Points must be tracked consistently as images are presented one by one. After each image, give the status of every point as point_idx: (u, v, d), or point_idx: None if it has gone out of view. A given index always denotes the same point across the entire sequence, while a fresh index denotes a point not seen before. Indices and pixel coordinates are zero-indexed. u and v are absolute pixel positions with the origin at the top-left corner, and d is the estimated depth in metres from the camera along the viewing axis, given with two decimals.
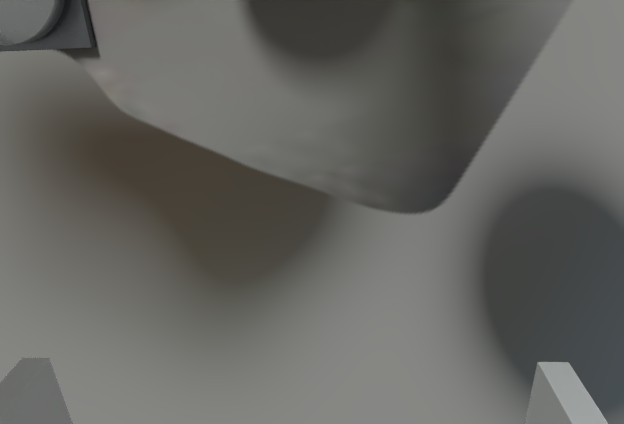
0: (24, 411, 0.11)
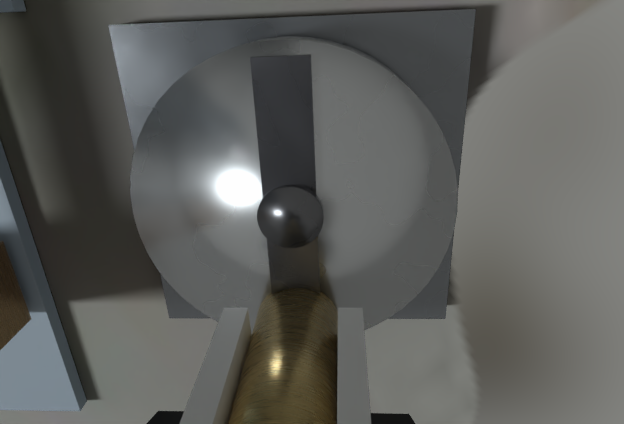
0: (241, 349, 0.13)
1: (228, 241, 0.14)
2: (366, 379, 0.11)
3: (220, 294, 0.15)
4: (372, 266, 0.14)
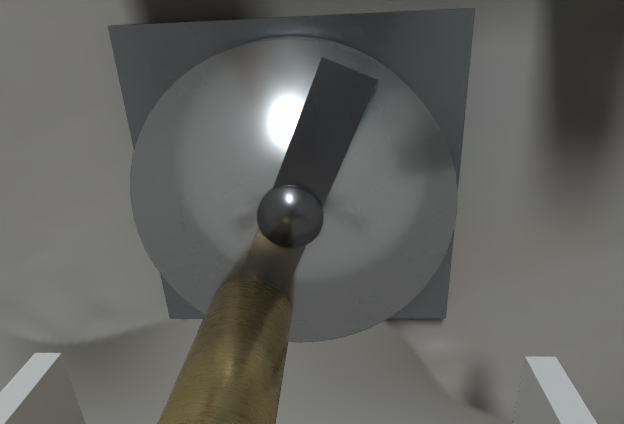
0: (37, 405, 0.11)
1: (219, 215, 0.14)
2: None
3: (186, 262, 0.15)
4: (342, 288, 0.15)
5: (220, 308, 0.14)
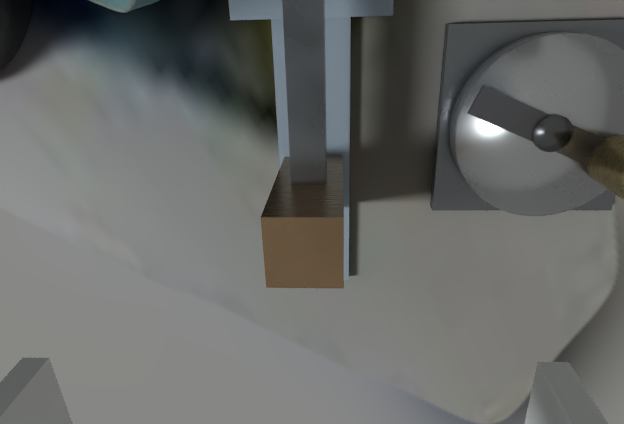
0: (24, 411, 0.11)
1: (543, 171, 0.25)
2: None
3: (569, 193, 0.26)
4: (610, 103, 0.24)
5: (602, 178, 0.24)
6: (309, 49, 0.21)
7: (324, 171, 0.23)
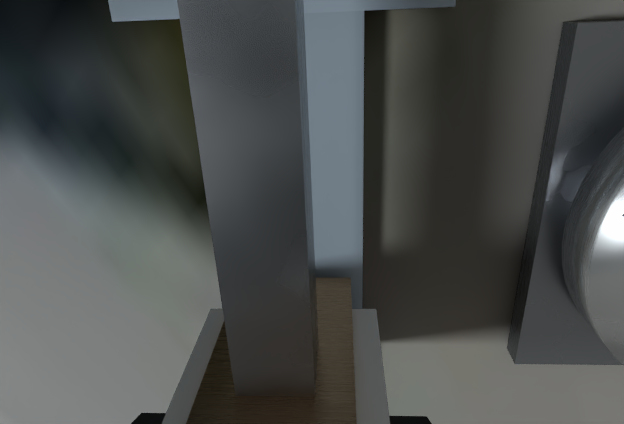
0: None
1: None
2: (383, 381, 0.11)
3: None
4: None
5: None
6: (259, 99, 0.07)
7: (310, 373, 0.10)
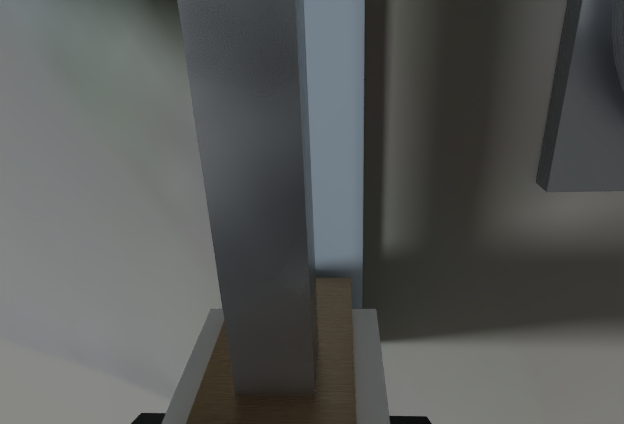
0: None
1: None
2: (383, 381, 0.11)
3: None
4: None
5: None
6: (259, 99, 0.07)
7: (310, 373, 0.10)
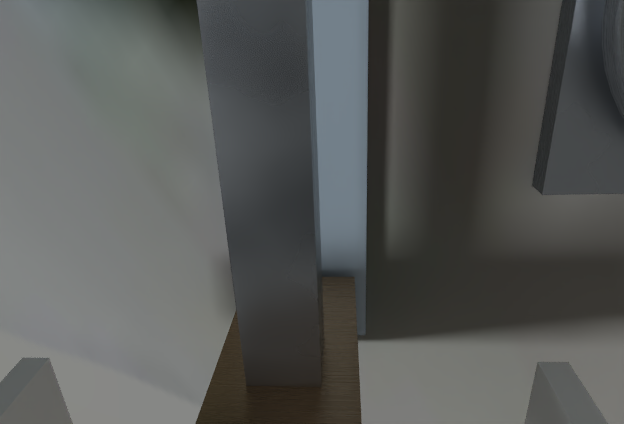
0: (24, 411, 0.11)
1: None
2: None
3: None
4: None
5: None
6: (271, 107, 0.08)
7: (317, 364, 0.10)
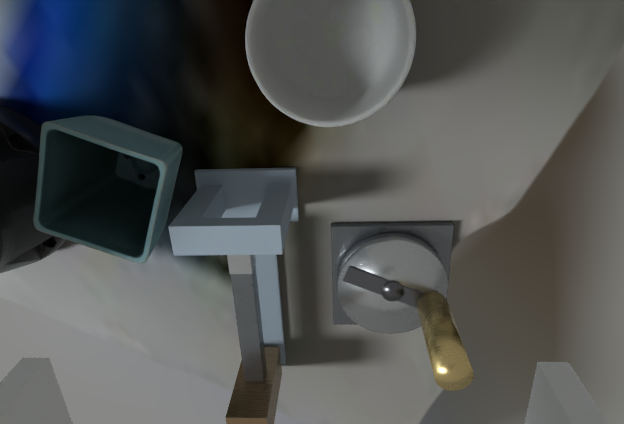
0: (24, 411, 0.11)
1: (391, 310, 0.42)
2: None
3: (409, 321, 0.43)
4: (424, 275, 0.40)
5: None
6: (249, 326, 0.40)
7: (262, 376, 0.42)
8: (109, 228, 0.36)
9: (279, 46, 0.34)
